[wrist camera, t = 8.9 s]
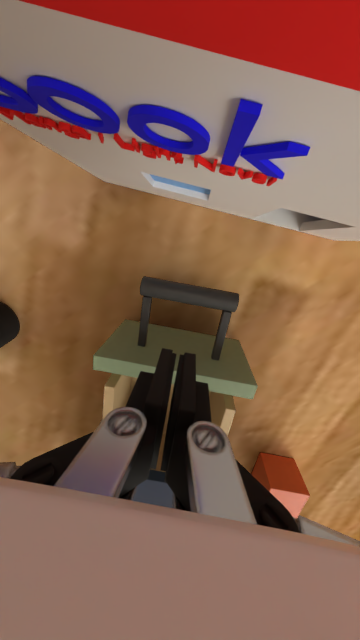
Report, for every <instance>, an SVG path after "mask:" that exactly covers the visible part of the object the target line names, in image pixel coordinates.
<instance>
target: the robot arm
mask: <svg viewBox="0 0 360 640" xmlns="http://www.w3.org/2000/svg"><path fill="white" fill-rule="evenodd" d="M175 360H176V353H173V350H170V349H165V348H162V350H161V353H160V356H159V360H158V363H157V366H156V369H155V372H154V373H149V372H144V371H141V372H140V374H139V376H138V378H137V381H136V383H135V385H134V388H133V390H132V392H131V395H130V397H129V400H128V402H127V404H126V407H120V408H116V409H114V410H112V411H110V412H109V413H108V414H107V415H106V416H105V418H104V419H103V420H102V422H101V423H100V424H99V426H98V427H97V428H96V430H95V431H94V432H92V433H90V434H88V435H85V436H83V437H81V438H79V439H76V440H74V441H72V442H69V443H67V444H65V445H63V446H60V447H58V448H56V449H53V450H51V451H49V452H47V453H44V454H42V455H40V456H38V457H35V458H33V459H31V460H30V461H28V462H26V463H24V464H23V465H22V466H16V463H15V462H2V463H0V640H360V541H358V540H356V539H353V538H351V537H349V536H346V535H344V534H342V533H339V532H337V531H335V530H332V529H330V528H328V527H325V526H323V525H321V524H318V523H316V522H314V521H311V520H309V519H307V518H305V517H302V516H300V515H299V516H298V518H294V517H292V515H291V513H290V512H289V511H288V510H287V509H286V508H285V506H284V505H283V504H282V503H281V502H280V501H279V500H277V499H276V498H275V497H274V496H273V495H272V494H271V493H270V492H269V491H268V490H267V489H266V488H265V487H264V486H263V485H262V484H261V483H260V482H259V481H258V480H257V479H256V478H254V477H253V476H252V475H251V474H250V473H249V472H248V471H247V470H246V469H245V468H244V467H243V466H242V465H241V464H240V463H239V462H238V461H237V460H236V459H235V457H234V454H233V451H232V448H231V445H230V442H229V439H228V437H227V435H226V433H225V432H224V431H223V429H222V428H220V427H219V426H218V425H216V424H214V423H212V422H211V410H210V399H209V387H208V383H203V382H198V381H196V354H192V353H186V352H185V353H184V355H181V354H180V357H179V362H178V367H177V373H176V378H175V383H174V388H173V393H172V399H171V404H170V411H169V417H168V424H167V430H166V437H165V443H164V450H163V456H162V462H161V469H160V470H161V471H166V472H165V479H164V481H165V482H166V483H167V484H168V486H169V487H170V489H171V490H172V491H173V495H172V508H168V507H163V506H157V505H152V504H147V503H141V502H136V501H133V498H134V496H135V493H136V489H137V486H138V485H139V484H141V483H142V482H144V481H145V480H146V479H148V478H149V473H150V469H156V466H157V461H158V456H159V450H160V445H161V440H162V434H163V429H164V424H165V418H166V413H167V408H168V402H169V396H170V390H171V384H172V378H173V372H174V366H175Z"/></svg>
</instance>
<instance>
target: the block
mask: <svg viewBox="0 0 360 640" xmlns="http://www.w3.org/2000/svg"><path fill="white" fill-rule="evenodd" d="M251 475H252V476H253V477H254V478H256V479H257V480H258V481H259V482H260V483H261V484H262V485H263V486H264V487H265V488H266V489H267V490H268V491H269V492H270V493H271V494H272V495H273V496H274V497H275V498H276V499H277V500H279V501H280V502H281V503H282V504H283V505H284V506H285V508H286V509H287V510H288V511H289V512H290V513H291V515H292V517H294V518H297V517H298V516H299V514H300V512H301V510H302V509H303V507H304V505H305V503H306V502H307V500H308V498H309V497H310V494H309V492H308V490H307V488H306V485H305V483H304V481H303V478H302V476H301V474H300V472H299V469H298V467H297V465H296V462H295V460H294V459H293V458H287V457H282V456H277V455H272V454H266V453H261V452H260V454H259V456H258V459H257V461H256V464H255V466H254V468H253V471H252V473H251Z"/></svg>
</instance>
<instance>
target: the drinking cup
mask: <svg viewBox="0 0 360 640" xmlns="http://www.w3.org/2000/svg"><path fill="white" fill-rule="evenodd" d="M18 332H19V321H18V318H17V316H16V315H15V313H14V312H13V311H12V310H11V309H10V308H9V307H8V306H7V305H5V304H3V303H1V302H0V348H1V347H2V346H4V345H5V344H7V343H8V342H10V341H11V340H12V339H14V338H15V337H16V336H17V334H18Z"/></svg>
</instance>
